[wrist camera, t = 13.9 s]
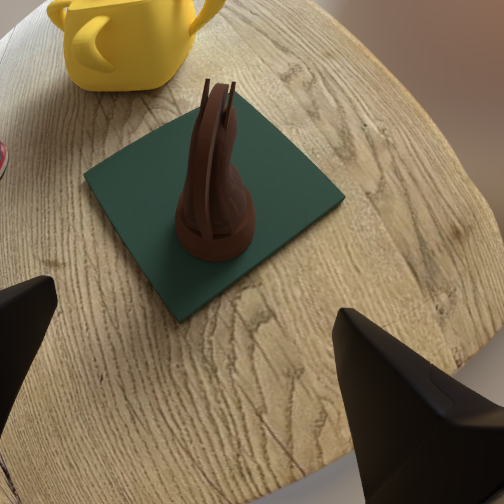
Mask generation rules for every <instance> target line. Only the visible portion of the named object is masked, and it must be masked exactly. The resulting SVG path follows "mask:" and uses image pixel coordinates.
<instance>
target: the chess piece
mask: <svg viewBox="0 0 504 504" xmlns="http://www.w3.org/2000/svg"><path fill="white" fill-rule="evenodd" d="M209 84H210V79H206V81H205V85H204V90H203V95H202V100H201V106H200V111H199V114H198V116H197V118H196V121H195V124H194V127H193V131H192V135H191V141H190V148H189V157H188V166H187V175H186V179H185V183H184V188H183V191H182V193H181V195H180V197H179V200H178V206H177V209H176V213H175V228H176V233H177V237H178V239H179V241H180V243H181V245H182V246H183V247H184V249H185V250H186V251H187V252H188V253H190V254H191V255H193V256H194V257H196V258H198V259H201V260H204V261H209V262H223V261H227V260H231V259H233V258H235V257H237V256H238V255H240V254H241V253H242V252H244V251H245V250H246V248H247V247H248V246H249V245H250V243H251V241H252V239H253V236H254V233H255V228H256V214H255V208H254V205H253V202H252V198H251V195H250V193H249V191H248V189H247V188H246V187H245V186H244V184H243V181H242V178H241V176H240V173H239V171H238V169H237V168H236V166H235V165H234V164H232V163H231V162H230V160H231V155H232V151H233V147H234V144H235V140H236V136H237V127H238V125H237V116H236V111H235V108H234V106H233V99H234V91H235V84H236V82H232V84H231V89H230V94H229V99H228V105H226V100H227V94H228V88H229V84H220V83H217V84H215V86H214V87H213V89H212V91H211V93H210V95H209V98H208V94H209Z"/></svg>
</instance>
